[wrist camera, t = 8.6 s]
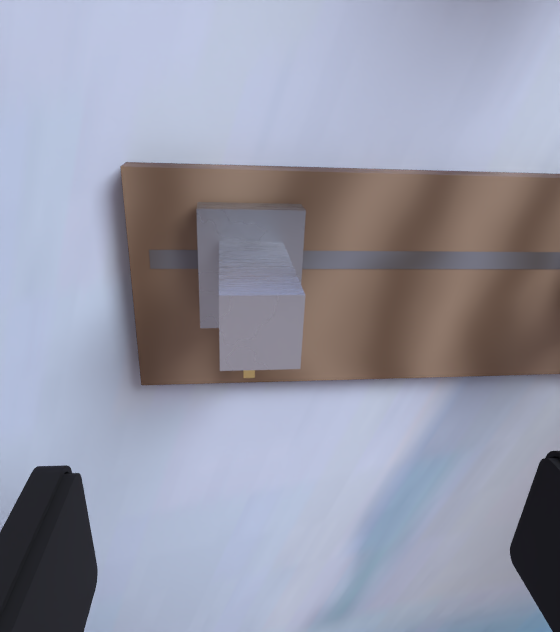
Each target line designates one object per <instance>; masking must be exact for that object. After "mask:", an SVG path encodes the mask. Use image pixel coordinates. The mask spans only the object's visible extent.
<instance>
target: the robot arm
mask: <svg viewBox="0 0 560 632" xmlns="http://www.w3.org/2000/svg"><path fill="white" fill-rule="evenodd" d="M510 556H511V560H512V563H513V565H514V567H515V568H516V570H517V572H518V574H519V575H520V577H521V579H522V580H523V582H524V584H525V585H526V587H527V589H528V590H529V592H530V594H531V596H532V597H533V599H534V601H535V602H536V604H537V606H538V607H539V609H540V611H541V612H542V614H543V616H544V618H545V619H546V621H547V623H548V624H549V626H550V628H551V629H552V631H553V632H560V451H551V452H549V453H548V454H547V456H546V458H545V459H542V460H541V461H540V463H539V466H538V469H537V472H536V474H535V477H534V480H533V483H532V486H531V489H530V492H529V494H528V497H527V500H526V503H525V506H524V509H523V512H522V514H521V517H520V520H519V523H518V526H517V529H516V532H515V534H514V537H513V540H512V543H511V546H510ZM96 583H97V563H96V557H95V551H94V546H93V540H92V535H91V529H90V523H89V518H88V512H87V506H86V501H85V495H84V489H83V484H82V478H81V475H80V474H79V473H72V471H71V468H70V467H69V466H37V467H36V468H35V469H34V470H33V472H32V473H31V475H30V477H29V479H28V481H27V483H26V485H25V486H24V488H23V490H22V492H21V494H20V496H19V498H18V500H17V502H16V504H15V505H14V507H13V509H12V511H11V513H10V515H9V517H8V519H7V521H6V523H5V524H4V526H3V528H2V530H1V532H0V632H84V628H85V625H86V621H87V617H88V614H89V610H90V606H91V603H92V599H93V596H94V592H95V588H96Z"/></svg>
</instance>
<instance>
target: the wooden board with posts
mask: <svg viewBox="0 0 560 632" xmlns="http://www.w3.org/2000/svg"><path fill="white" fill-rule="evenodd" d="M121 176H122V187H123V197H124V208H125V218H126V229H127V239H128V250H129V260H130V271H131V281H132V292H133V302H134V313H135V323H136V334H137V344H138V355H139V365H140V376H141V385H168V384H205V383H242V382H278V381H315V380H352V379H389V378H426V377H463V376H500V375H537V374H560V174H542V173H505V172H468V171H431V170H394V169H358V168H321V167H284V166H247V165H210V164H173V163H137V162H126V163H125V164H123V165H122V166H121ZM198 202H221V203H277V204H301V205H302V206H303V207H304V209H305V210H306V216H305V232H304V248H303V263H302V279H301V286H302V288H303V291H304V293H305V308H304V323H303V338H302V352H301V367H300V369H282V370H255V378H243V370H240V371H220V347H219V328H200V305H199V275H198V244H197V213H196V208H197V203H198Z"/></svg>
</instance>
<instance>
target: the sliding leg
mask: <svg viewBox="0 0 560 632" xmlns="http://www.w3.org/2000/svg"><path fill="white" fill-rule="evenodd" d="M196 213H197V244H198V275H199V305H200V328H219V347H220V371H240V370H243V378H255V370H282V369H300V367H301V352H302V338H303V323H304V308H305V293H304V291H303V288H302V286H301V279H302V263H303V248H304V232H305V216H306V210H305V209H304V207H303V206H302V205H301V204H277V203H221V202H198V203H197V208H196Z"/></svg>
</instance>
